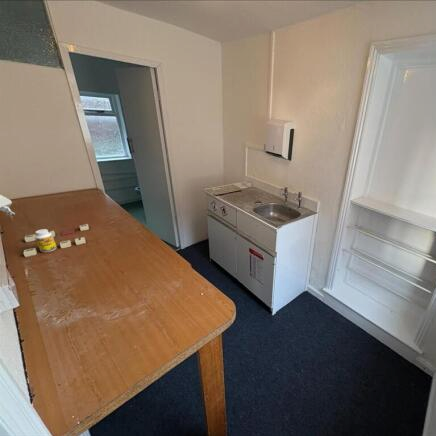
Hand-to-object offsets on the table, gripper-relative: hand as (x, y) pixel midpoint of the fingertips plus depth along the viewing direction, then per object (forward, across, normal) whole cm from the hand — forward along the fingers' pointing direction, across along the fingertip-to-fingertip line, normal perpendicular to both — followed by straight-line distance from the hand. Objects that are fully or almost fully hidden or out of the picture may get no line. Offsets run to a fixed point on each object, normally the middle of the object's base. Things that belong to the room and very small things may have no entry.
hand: (2, 219), depth 101 cm
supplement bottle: (+20, +1, +3) cm, 21 cm away
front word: (+22, +2, +2) cm, 22 cm away
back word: (+15, +18, +8) cm, 25 cm away
